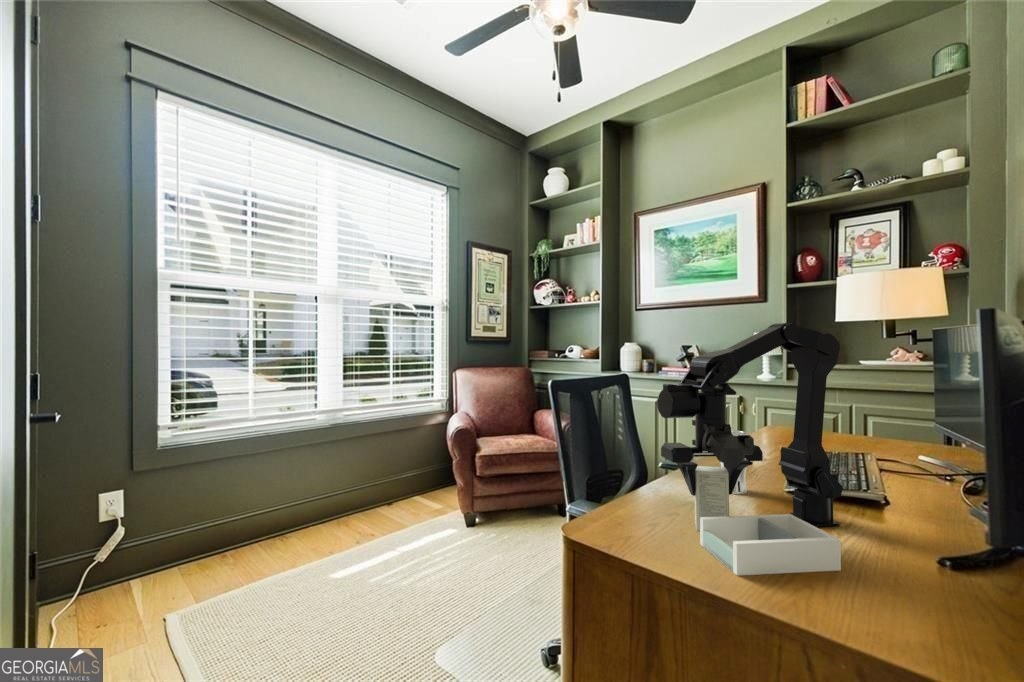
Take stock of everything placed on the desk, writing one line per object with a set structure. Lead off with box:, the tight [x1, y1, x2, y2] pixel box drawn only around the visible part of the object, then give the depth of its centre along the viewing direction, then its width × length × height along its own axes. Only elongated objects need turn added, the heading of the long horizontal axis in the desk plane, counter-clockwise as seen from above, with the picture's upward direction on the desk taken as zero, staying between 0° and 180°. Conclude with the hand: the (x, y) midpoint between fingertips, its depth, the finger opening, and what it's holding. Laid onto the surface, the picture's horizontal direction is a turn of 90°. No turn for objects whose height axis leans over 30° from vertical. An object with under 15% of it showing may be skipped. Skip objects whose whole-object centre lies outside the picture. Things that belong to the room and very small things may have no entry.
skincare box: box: [693, 464, 730, 532], centre depth 86 cm, size 6×4×12 cm
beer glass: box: [719, 429, 749, 495], centre depth 110 cm, size 7×7×15 cm
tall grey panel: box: [758, 518, 797, 540], centre depth 75 cm, size 1×8×4 cm, turn 6°
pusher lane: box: [699, 513, 842, 576], centre depth 75 cm, size 18×11×5 cm, turn 96°
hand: (711, 494), depth 86 cm, fingers open, 7 cm apart
